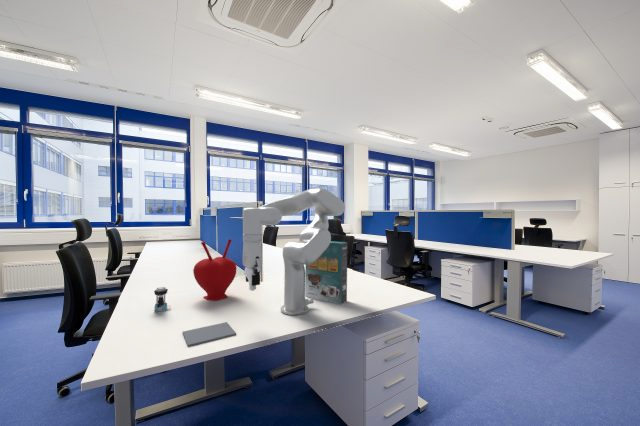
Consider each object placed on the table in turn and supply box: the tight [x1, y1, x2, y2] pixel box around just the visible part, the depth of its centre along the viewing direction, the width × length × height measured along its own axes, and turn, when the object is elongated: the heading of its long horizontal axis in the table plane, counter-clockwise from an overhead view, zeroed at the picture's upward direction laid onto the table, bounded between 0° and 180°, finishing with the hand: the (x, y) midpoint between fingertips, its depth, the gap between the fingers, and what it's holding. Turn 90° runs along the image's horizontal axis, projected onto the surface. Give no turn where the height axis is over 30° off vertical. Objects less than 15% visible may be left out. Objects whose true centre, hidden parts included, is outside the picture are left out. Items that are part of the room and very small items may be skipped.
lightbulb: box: [243, 266, 261, 292], centre depth 108 cm, size 6×6×11 cm
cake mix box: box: [305, 240, 348, 305], centre depth 141 cm, size 22×6×30 cm, turn 58°
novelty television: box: [192, 238, 237, 302], centre depth 141 cm, size 21×13×30 cm, turn 144°
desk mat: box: [182, 321, 237, 348], centre depth 98 cm, size 16×12×1 cm
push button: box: [153, 286, 171, 312], centre depth 122 cm, size 7×5×10 cm
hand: (252, 282), depth 108 cm, fingers closed on lightbulb, 6 cm apart
